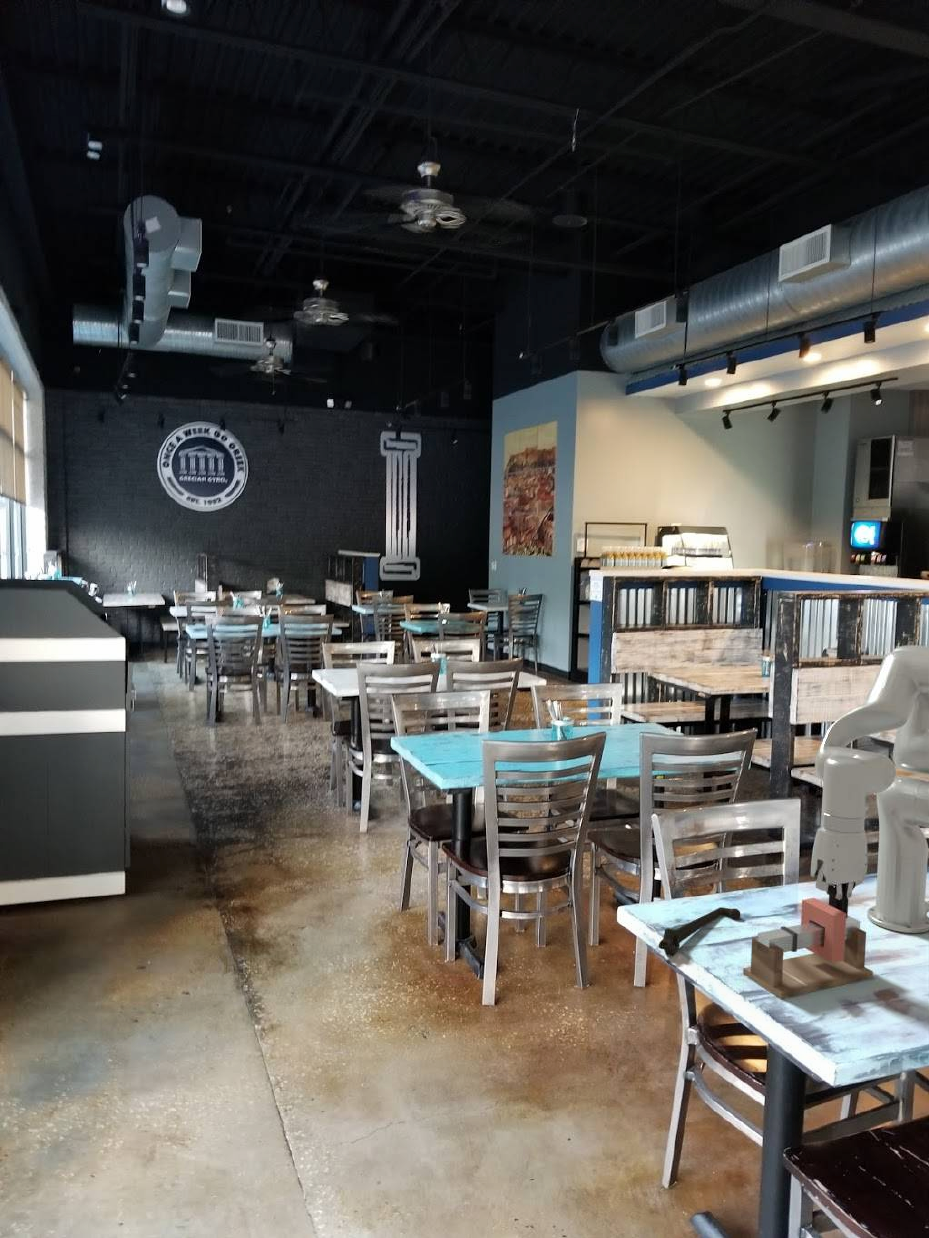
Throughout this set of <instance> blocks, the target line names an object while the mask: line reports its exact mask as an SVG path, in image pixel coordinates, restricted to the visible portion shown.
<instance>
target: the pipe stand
mask: <svg viewBox="0 0 929 1238" xmlns="http://www.w3.org/2000/svg"><path fill="white" fill-rule="evenodd" d="M866 943H867V931H865V930H863V929H861V928H860V929H858V930H853V931H852V938H851V939H846V940H845V950H844V961H839V962H835V963H831V962H829V961H827V960H825V959H823V958H822V957H820V956H818V955H816V954H815V953H813V952H812V953H807V954H804V955H800V956H794V957H789V958H785V959H784V953H783V949H782V948H780V947H779V946H775V947H770V948H769V947H768V949H767V948H766V949H767V950H766V949H764V948H765V947H763V946H764V944H762V945H761V943H760V942H759V941H758V936H753V937H752V938H751V954H750V955H751V957H750V966H748V967H743V969H742V970H743V971H742V975H743V974H744V975H743V976H745V975H746V976H748V977H749V978H750V979H749V978H748V977H747V978H748V979H749V980H751V979H752V980H753V982H754V983H756V984H757V985H759V986H760V985H761V986H760V987H761V988H763V989H765V990H766V989H767V990H766V991H768V992H769V991H770V992H769V993H771V995H774V996H775V995H776V997H777V996H778V997H779V998H778V997H777V998H778V999H780V1000H783V999H787V998H786V997H788V998H791V996H792V997H795V996H794V995H796V996H799V995H804V994H808V993H813V992H817V991H816V990H818V991H821V990H826V989H830V988H834V987H838V986H842V985H847V984H851V983H855V982H859V981H864V980H868V979H869V980H870V979H873V976H874V971H873V970H871V969H870V968H867V967H865V963H866V947H867V944H866ZM757 944H760V945H757ZM757 946H758V947H759V946H760V948H762V947H763V948H762V950H764V952H763V951H760V948H757ZM766 947H767V946H766ZM758 949H759V950H758ZM746 976H745V977H746ZM752 980H751V981H752ZM782 998H783V999H782Z"/></svg>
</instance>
